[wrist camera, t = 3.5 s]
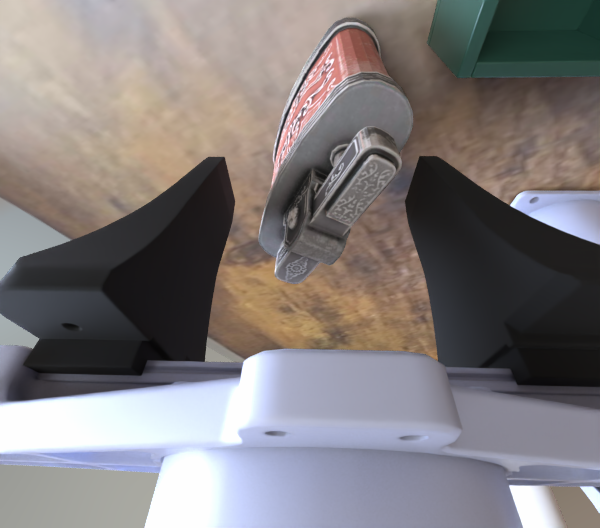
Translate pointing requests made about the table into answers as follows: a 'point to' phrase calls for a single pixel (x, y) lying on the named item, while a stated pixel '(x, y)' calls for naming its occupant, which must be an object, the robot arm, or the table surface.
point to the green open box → (517, 38)
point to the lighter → (332, 150)
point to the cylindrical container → (537, 507)
